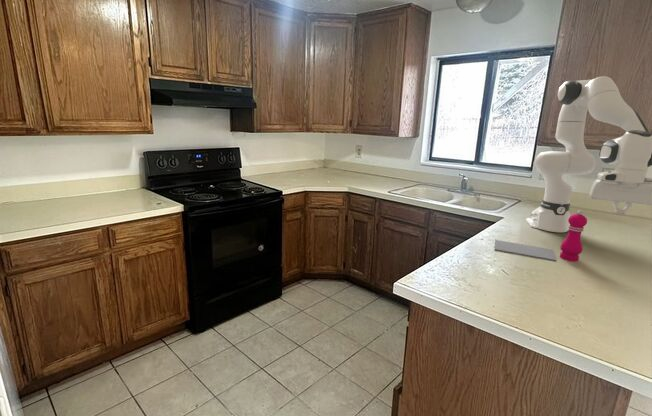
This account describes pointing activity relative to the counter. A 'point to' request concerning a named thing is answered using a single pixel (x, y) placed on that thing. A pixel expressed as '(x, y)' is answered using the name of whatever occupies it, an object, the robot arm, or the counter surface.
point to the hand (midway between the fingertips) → (619, 213)
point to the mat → (525, 250)
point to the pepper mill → (573, 238)
